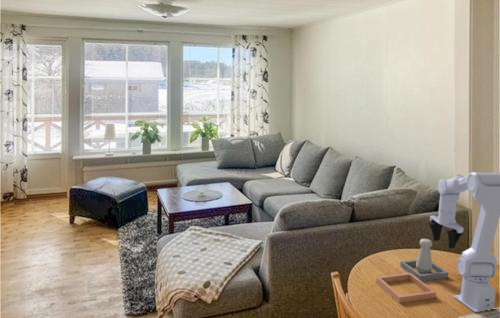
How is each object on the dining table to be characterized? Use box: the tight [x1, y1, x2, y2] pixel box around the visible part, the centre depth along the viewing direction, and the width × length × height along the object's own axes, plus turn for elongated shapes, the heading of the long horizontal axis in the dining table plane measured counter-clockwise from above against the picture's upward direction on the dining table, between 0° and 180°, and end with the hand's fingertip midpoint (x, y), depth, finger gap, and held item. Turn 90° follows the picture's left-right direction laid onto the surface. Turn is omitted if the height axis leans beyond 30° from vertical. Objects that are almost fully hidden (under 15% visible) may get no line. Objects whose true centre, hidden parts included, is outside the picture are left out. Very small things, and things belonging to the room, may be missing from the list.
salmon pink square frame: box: [375, 272, 437, 304], centre depth 133 cm, size 14×14×2 cm
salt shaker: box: [415, 238, 433, 274], centre depth 145 cm, size 6×6×13 cm
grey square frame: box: [400, 259, 449, 282], centre depth 146 cm, size 12×12×2 cm
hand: (443, 244), depth 146 cm, fingers open, 7 cm apart
